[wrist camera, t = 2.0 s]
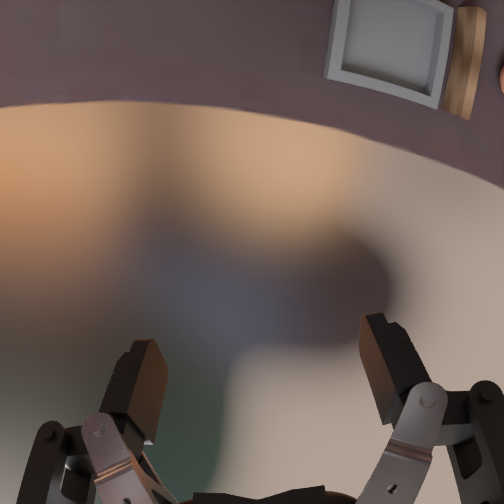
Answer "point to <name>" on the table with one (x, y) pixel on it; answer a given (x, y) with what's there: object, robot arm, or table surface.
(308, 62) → the table surface
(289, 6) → the table surface
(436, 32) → the tray
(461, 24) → the wall
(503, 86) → the ball
